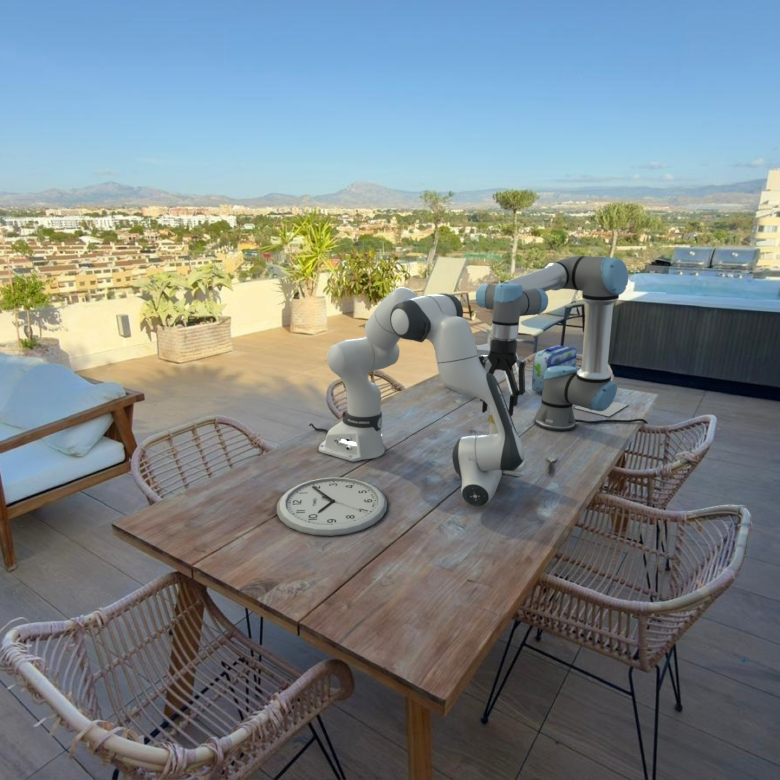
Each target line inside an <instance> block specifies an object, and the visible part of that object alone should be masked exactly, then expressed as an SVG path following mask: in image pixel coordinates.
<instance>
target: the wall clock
mask: <svg viewBox="0 0 780 780" xmlns="http://www.w3.org/2000/svg"><path fill="white" fill-rule="evenodd" d="M387 509H388V500H387V498H386V496H385V494H384V493H383V492H382V491H381V490H380V489H379V488H377V487H376V486H374V485H372V484H371V483H369V482H365V481H362V480H359V479H355V478H349V477H338V476H337V477H335V476H333V477H332V476H331V477H322V478H317V479H312V480H307V481H305V482H302V483H299V484H297V485H295V486H293V487H292V488H290V489H288V490H287V491H286V492H285V493H284V494H283V495H281V496H280V498H279V499H278V502H277V503H276V515H277V517H278V518H279V520H280V521H281V522H282V523H283V524H285V525H286V526H287V527H288V528H290V529H293V530H295V531H297V532H299V533H303V534H308V535H312V536H327V537H328V536H329V537H331V536H332V537H333V536H342V535H350V534H352V533H356V532H361V531H363V530H366V529H368V528H369V527H372V526H373V525H375V524H376V523H378V522H379V521H380V520H381V519H382V518H383V517H384V516H385V514H386V512H387Z"/></svg>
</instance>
